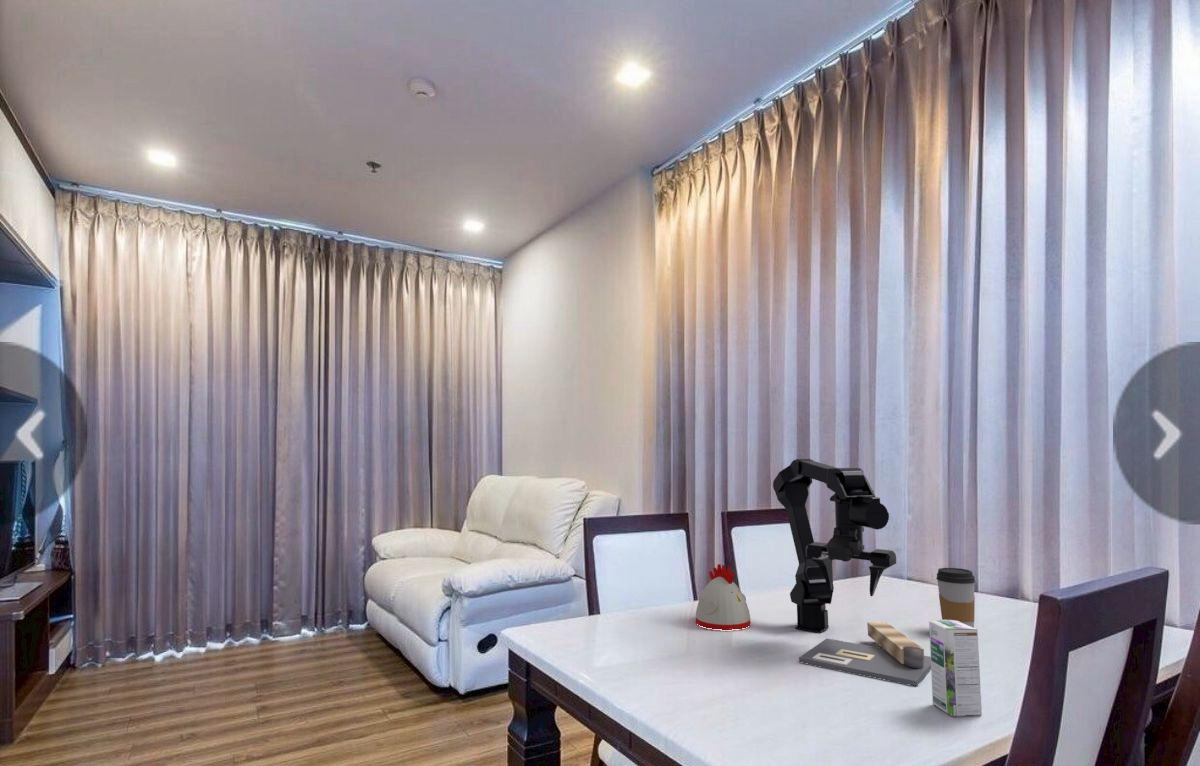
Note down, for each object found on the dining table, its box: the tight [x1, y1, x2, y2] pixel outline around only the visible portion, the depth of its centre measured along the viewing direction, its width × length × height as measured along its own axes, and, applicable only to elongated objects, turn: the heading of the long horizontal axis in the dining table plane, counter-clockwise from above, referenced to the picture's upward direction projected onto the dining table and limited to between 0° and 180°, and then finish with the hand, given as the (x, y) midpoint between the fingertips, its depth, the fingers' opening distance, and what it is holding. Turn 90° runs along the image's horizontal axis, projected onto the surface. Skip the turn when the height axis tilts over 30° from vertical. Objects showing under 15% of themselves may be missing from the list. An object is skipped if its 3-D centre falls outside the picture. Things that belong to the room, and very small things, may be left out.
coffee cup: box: [936, 567, 976, 628], centre depth 157 cm, size 8×8×15 cm
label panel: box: [798, 638, 931, 687], centre depth 137 cm, size 23×17×1 cm
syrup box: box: [928, 619, 983, 717], centre depth 113 cm, size 6×6×14 cm
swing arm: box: [867, 621, 925, 668], centre depth 141 cm, size 22×4×3 cm, turn 176°
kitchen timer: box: [695, 563, 752, 630], centre depth 168 cm, size 14×14×15 cm
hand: (850, 592), depth 148 cm, fingers open, 9 cm apart
